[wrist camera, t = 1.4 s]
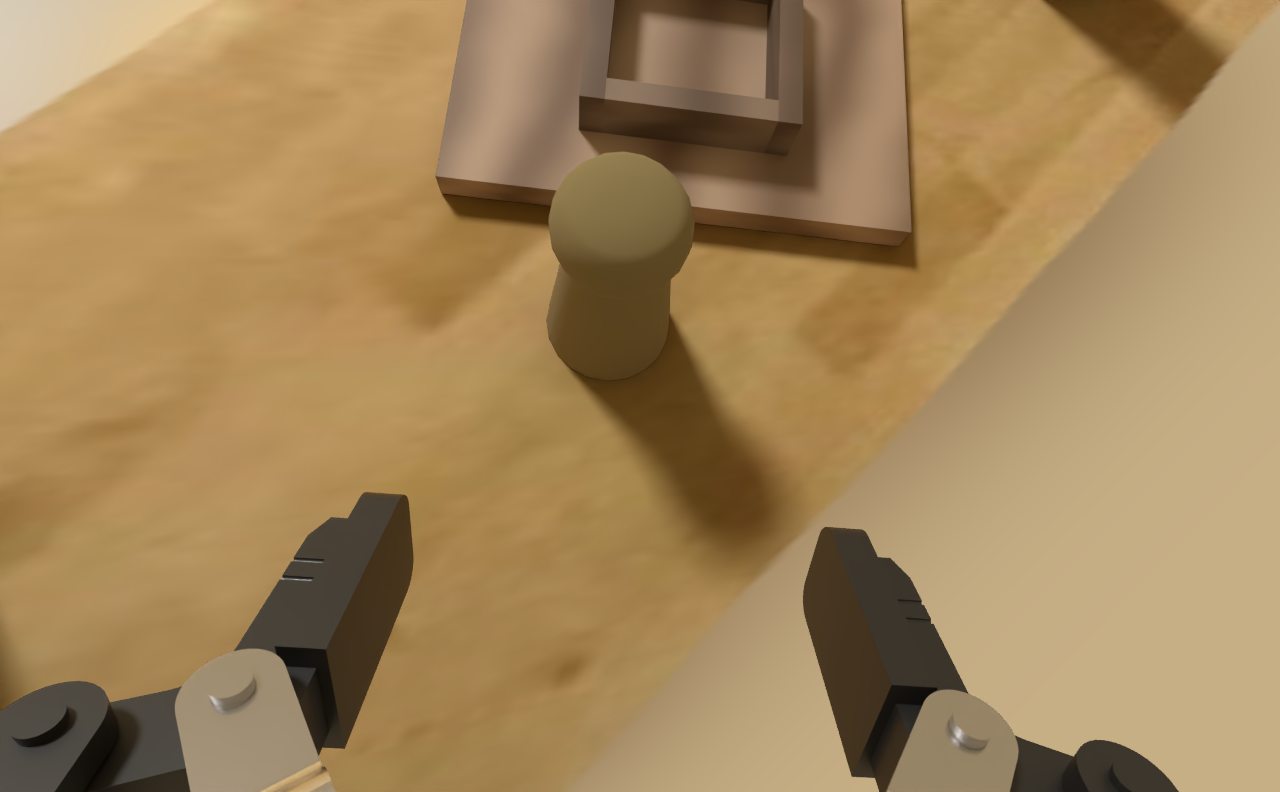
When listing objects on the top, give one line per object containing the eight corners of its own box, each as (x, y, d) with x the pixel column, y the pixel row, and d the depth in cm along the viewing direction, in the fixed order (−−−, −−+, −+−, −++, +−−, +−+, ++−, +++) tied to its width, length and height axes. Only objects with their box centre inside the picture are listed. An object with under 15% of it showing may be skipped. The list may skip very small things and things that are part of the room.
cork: (522, 306, 32) (497, 175, 22) (621, 245, 34) (643, 93, 23) (593, 404, 31) (605, 317, 21) (693, 336, 33) (750, 223, 22)
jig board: (441, 193, 34) (424, 143, 30) (488, -79, 38) (479, -152, 35) (897, 246, 35) (937, 206, 32) (887, -21, 40) (921, -84, 36)
